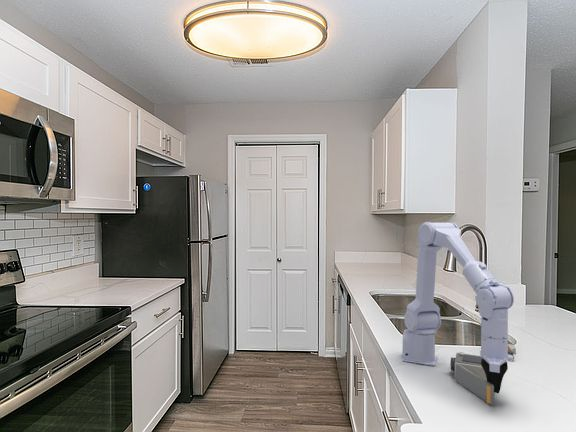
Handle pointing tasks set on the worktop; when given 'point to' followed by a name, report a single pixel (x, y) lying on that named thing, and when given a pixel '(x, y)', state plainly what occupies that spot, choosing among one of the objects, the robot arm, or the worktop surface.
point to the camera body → (469, 363)
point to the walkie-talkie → (511, 349)
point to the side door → (475, 383)
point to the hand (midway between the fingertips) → (494, 391)
